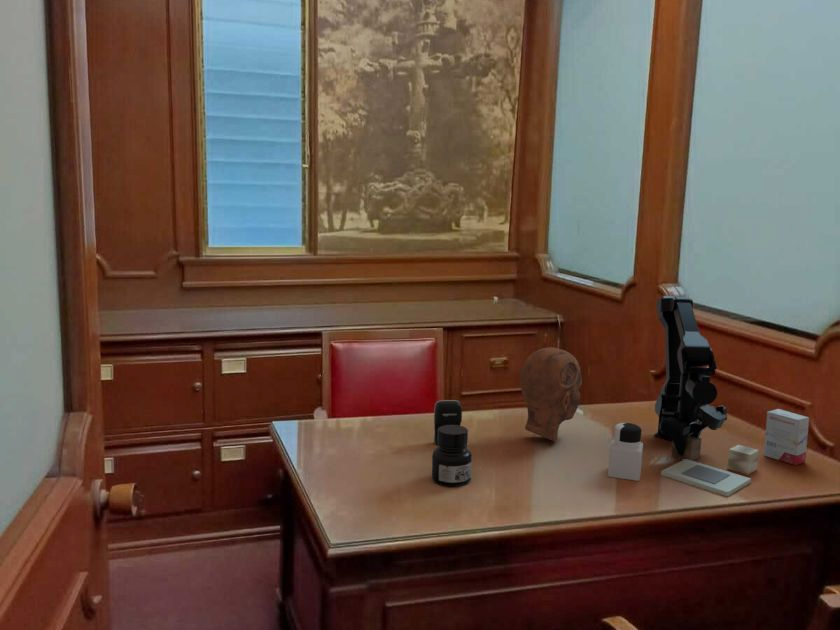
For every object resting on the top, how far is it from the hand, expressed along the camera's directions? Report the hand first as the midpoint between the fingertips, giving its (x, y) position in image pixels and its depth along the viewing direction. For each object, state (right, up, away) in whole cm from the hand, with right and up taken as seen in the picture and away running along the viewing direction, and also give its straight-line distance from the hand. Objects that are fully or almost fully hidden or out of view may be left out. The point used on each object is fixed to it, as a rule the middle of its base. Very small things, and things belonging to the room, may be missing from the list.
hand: (686, 452), depth 187 cm
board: (0, -4, -14) cm, 14 cm away
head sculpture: (-32, +1, +11) cm, 34 cm away
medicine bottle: (-19, -3, -12) cm, 22 cm away
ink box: (+25, -2, 0) cm, 25 cm away
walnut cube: (0, -1, 0) cm, 1 cm away
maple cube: (+11, -3, -7) cm, 13 cm away
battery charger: (-60, +1, +5) cm, 60 cm away
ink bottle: (-60, -3, -18) cm, 63 cm away
